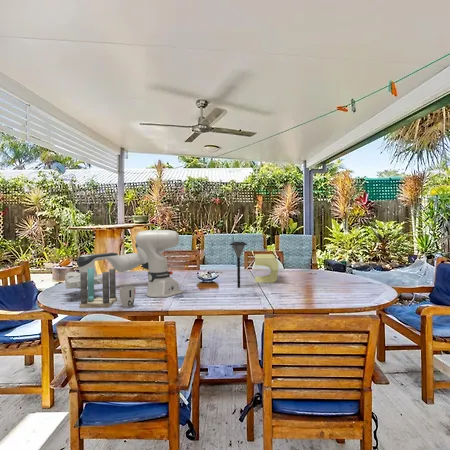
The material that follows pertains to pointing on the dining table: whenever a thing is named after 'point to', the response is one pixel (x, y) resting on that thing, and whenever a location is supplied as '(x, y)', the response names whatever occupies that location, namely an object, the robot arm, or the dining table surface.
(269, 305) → the dining table surface
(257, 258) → the yellow curved hook shape
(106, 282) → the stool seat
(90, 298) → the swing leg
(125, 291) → the cup
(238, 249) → the solar garden light
